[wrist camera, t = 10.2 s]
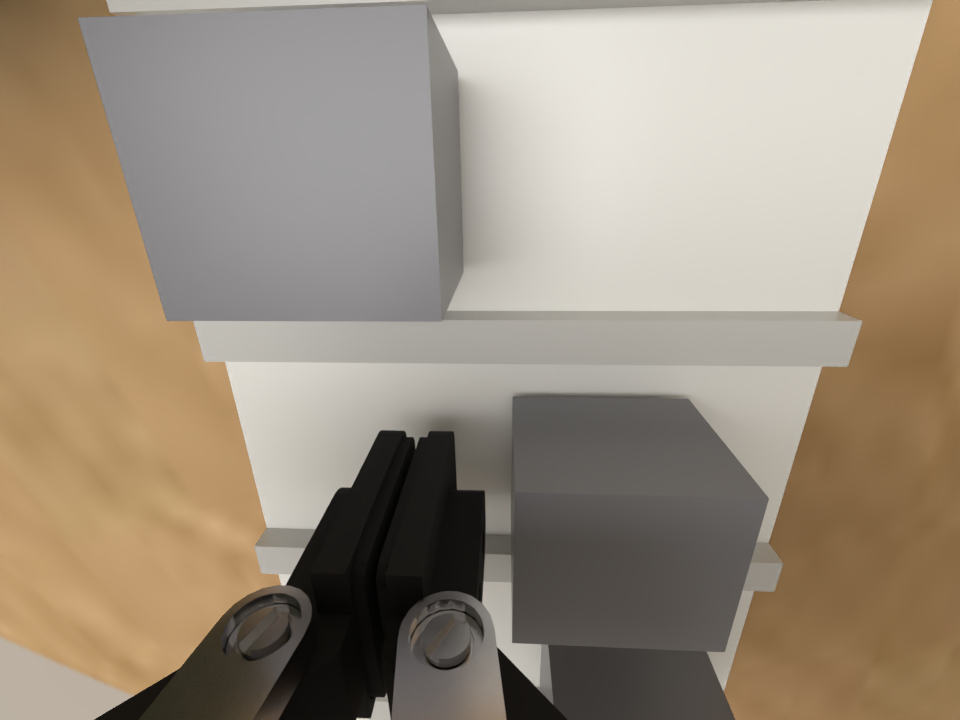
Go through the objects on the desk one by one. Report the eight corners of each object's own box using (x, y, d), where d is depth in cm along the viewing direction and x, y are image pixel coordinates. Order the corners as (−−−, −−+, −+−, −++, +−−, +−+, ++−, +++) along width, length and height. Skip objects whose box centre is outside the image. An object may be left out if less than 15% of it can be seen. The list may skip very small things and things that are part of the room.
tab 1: (458, 70, 8) (426, 4, 5) (463, 272, 9) (442, 322, 6) (241, 77, 8) (77, 17, 5) (277, 272, 10) (166, 320, 6)
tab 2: (688, 398, 10) (769, 498, 7) (666, 522, 12) (724, 652, 8) (512, 396, 10) (514, 491, 7) (510, 518, 12) (512, 642, 9)
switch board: (891, -202, 8) (1099, -404, 5) (677, 688, 18) (710, 786, 15) (176, -159, 9) (21, -314, 6) (342, 672, 19) (313, 763, 16)
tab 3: (687, 604, 13) (746, 746, 10) (668, 686, 14) (714, 834, 11) (544, 599, 13) (556, 735, 10) (539, 680, 14) (548, 823, 11)
